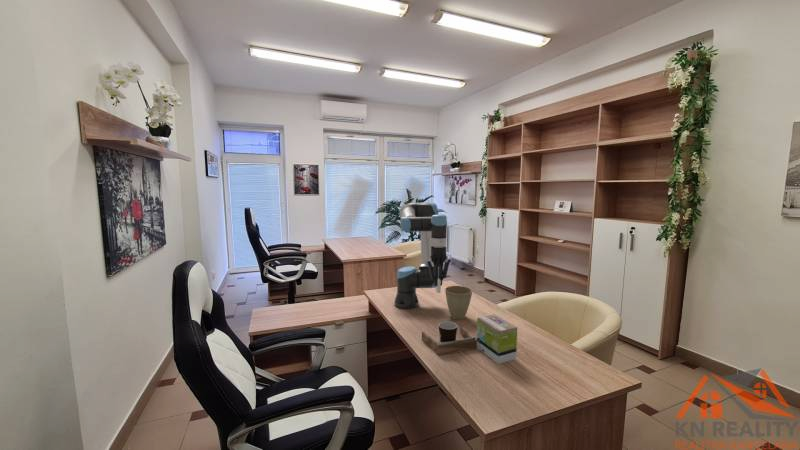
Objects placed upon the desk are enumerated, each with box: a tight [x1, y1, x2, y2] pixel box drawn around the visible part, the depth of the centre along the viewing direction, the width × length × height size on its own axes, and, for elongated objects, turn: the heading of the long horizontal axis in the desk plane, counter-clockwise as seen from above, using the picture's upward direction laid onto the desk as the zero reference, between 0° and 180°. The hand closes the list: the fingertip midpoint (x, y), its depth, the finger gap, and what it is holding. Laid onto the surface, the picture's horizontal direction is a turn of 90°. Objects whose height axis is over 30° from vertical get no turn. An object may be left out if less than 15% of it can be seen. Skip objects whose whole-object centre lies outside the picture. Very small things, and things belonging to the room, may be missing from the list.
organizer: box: [421, 325, 478, 356], centre depth 147 cm, size 16×22×5 cm
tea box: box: [476, 314, 518, 365], centre depth 138 cm, size 15×10×15 cm
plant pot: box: [444, 285, 473, 320], centre depth 178 cm, size 15×15×16 cm
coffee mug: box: [438, 320, 458, 343], centre depth 146 cm, size 12×9×10 cm
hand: (438, 292), depth 159 cm, fingers closed
